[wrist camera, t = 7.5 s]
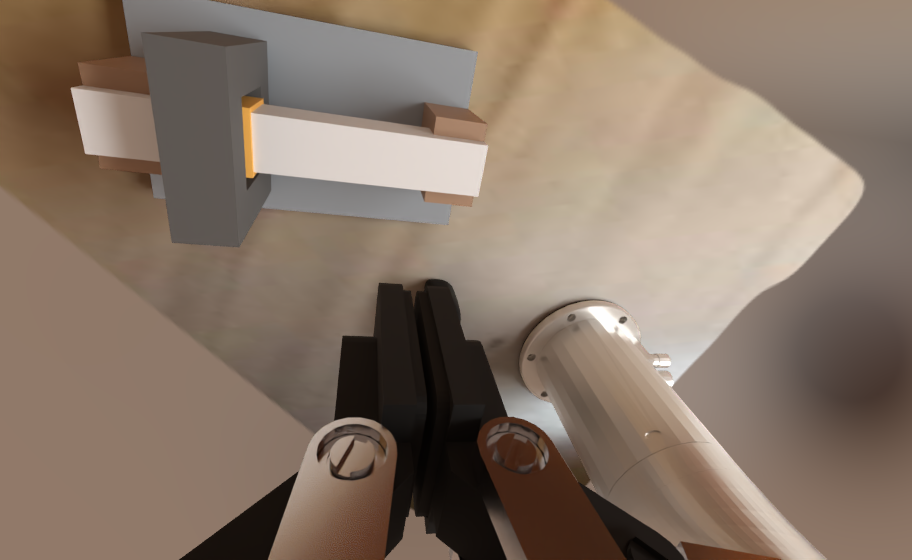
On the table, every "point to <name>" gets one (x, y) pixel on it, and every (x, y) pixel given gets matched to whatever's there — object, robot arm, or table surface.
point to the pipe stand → (310, 113)
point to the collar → (206, 131)
